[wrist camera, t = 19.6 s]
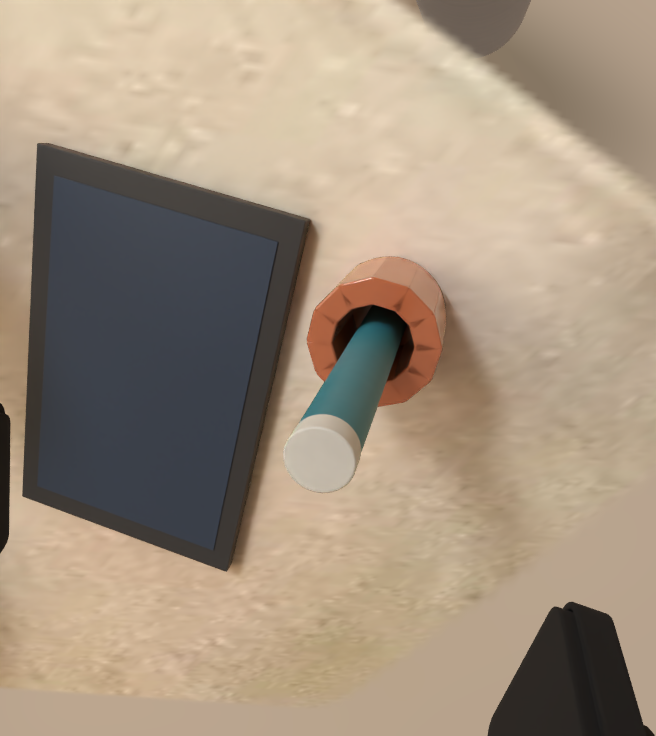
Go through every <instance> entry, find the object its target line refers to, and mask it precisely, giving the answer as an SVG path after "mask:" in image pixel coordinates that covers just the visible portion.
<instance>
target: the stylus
mask: <svg viewBox="0 0 656 736" xmlns="http://www.w3.org/2000/svg"><path fill="white" fill-rule="evenodd" d="M406 325H407V323H406V322H405V321H404V320H403V319H402V318H401V317H400V316H399V315H398V314H397V313H396V312H395V311H392V310H389V309H386V308H383V307H379V306H376V305H373V306H372V307H371V308H370V310H369V311H368V313H367V315H366V316H365V318H364V319H363V321H362V323H361V324H360V326H359V327H358V329H357V331H356V332H355V334H354V335H353V337H352V339H351V340H350V342H349V343H348V345H347V347H346V348H345V350H344V352H343V353H342V355H341V356H340V358H339V360H338V361H337V363H336V364H335V366H334V368H333V369H332V371H331V372H330V374H329V376H328V377H327V379H326V380H325V382H324V384H323V385H322V387H321V388H320V390H319V392H318V393H317V395H316V397H315V398H314V400H313V401H312V403H311V405H310V406H309V408H308V409H307V411H306V413H305V414H304V416H303V417H302V419H301V421H300V422H299V424H298V425H297V426H296V427H295V429H294V430H293V432H292V434H291V435H290V437H289V438H288V440H287V442H286V444H285V447H284V452H283V458H284V463H285V467H286V469H287V471H288V473H289V475H290V476H291V477H292V478H293V480H294V481H295V482H297V483H298V484H299V485H300V486H302V487H304V488H306V489H308V490H310V491H313V492H318V493H330V492H334V491H337V490H339V489H341V488H343V487H345V486H346V485H347V484H348V483H349V482H350V481H351V480H352V478H353V476H354V474H355V471H356V468H357V465H358V463H359V460H360V456H361V452H362V449H363V446H364V443H365V440H366V438H367V435H368V432H369V429H370V426H371V424H372V421H373V418H374V415H375V412H376V410H377V407H378V404H379V401H380V398H381V396H382V393H383V390H384V387H385V384H386V381H387V379H388V376H389V373H390V370H391V367H392V365H393V362H394V359H395V356H396V353H397V351H398V348H399V345H400V342H401V339H402V337H403V334H404V331H405V328H406Z"/></svg>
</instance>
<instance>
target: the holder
mask: <svg viewBox="0 0 656 736" xmlns="http://www.w3.org/2000/svg"><path fill="white" fill-rule="evenodd" d="M373 305H376V306H379V307H383V308H386V309H389V310H392V311H395V312H396V313H397V314H398V315H399V316H400V317H401V318H402V319H403V320H404V321H405V322H406V323H407V325H406V328H405V331H404V334H403V337H402V339H401V342H400V345H399V348H398V351H397V353H396V356H395V359H394V362H393V365H392V367H391V370H390V373H389V376H388V379H387V381H386V384H385V387H384V390H383V393H382V396H381V398H380V401H379V404H378V407H380V406H385V405H391V404H397V403H403V402H405V401H407V400H409V399H410V398H411V397H412V396H414V395H415V394H416V393H417V392H418V391H420V390H421V389H422V388H423V387H425V386H426V385H427V384H428V383H429V382H430V381H431V380H432V378H433V375H434V372H435V369H436V367H437V364H438V361H439V358H440V355H441V352H442V348H443V340H444V333H445V325H446V311H445V303H444V298H443V295H442V292H441V289H440V287H439V286H438V284H437V282H436V281H435V279H434V278H433V277H432V276H431V274H429V273H428V272H427V271H426V270H425V269H424V268H422V267H421V266H420V265H418V264H416V263H414V262H412V261H410V260H407V259H404V258H399V257H379V258H374V259H371V260H368V261H366V262H364V263H360V264H359V265H357V266H356V267H355V268H354V269H353V270H352V271H351V272H350V273H349V274H348V275H347V276H346V277H345V278H344V279H343V280H342V281H341V282H340V283H339V284H338V285H337V286H336V287H335V288H334V289H333V290H332V291H331V292H330V293H329V294H328V295H327V296H326V297H325V298H324V299H323V300H322V301H321V302H320V303H319V305H318V306H317V307H316V308H315V310H314V312H313V316H312V320H311V324H310V328H309V332H308V336H307V345H308V348H309V352H310V355H311V358H312V362H313V365H314V368H315V371H316V372H317V375H318V376H319V377H320V378H321V379H322V380H323V381H324V382H325V380H326V379H327V377H328V376H329V374H330V372H331V371H332V369H333V368H334V366H335V364H336V363H337V361H338V360H339V358H340V356H341V355H342V353H343V352H344V350H345V348H346V347H347V345H348V343H349V342H350V340H351V339H352V337H353V335H354V334H355V332H356V331H357V329H358V327H359V326H360V324H361V323H362V321H363V319H364V318H365V316H366V315H367V313H368V311H369V310H370V308H371V307H372V306H373Z"/></svg>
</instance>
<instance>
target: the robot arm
mask: <svg viewBox="0 0 656 736" xmlns="http://www.w3.org/2000/svg"><path fill="white" fill-rule="evenodd" d="M9 493H10V418H9V416H8V415H6V414H5V411H4V407H3V406H2V404H0V553H1V551H2V550H3V549H4V547H5V545H6V543H7V540H8V537H9ZM488 736H654V734H653V733H652V731H651V730H650V729H649V728H648V727H647V726H645V725H643V722H642V718H641V715H640V711H639V708H638V705H637V701H636V698H635V694H634V691H633V687H632V684H631V681H630V677H629V674H628V670H627V667H626V663H625V660H624V657H623V653H622V650H621V647H620V643H619V640H618V636H617V633H616V629H615V626H614V623H613V620H612V618H611V617H610V616H609V615H608V614H606V613H603V612H600V611H597V610H594V609H591V608H589V607H586V606H583V605H580V604H577V603H574V602H569V603H567V604H566V605H565V606H564V608H563V609H562V608H559V607H553V608H552V609H551V610H550V612H549V614H548V615H547V617H546V619H545V621H544V623H543V624H542V626H541V628H540V630H539V632H538V634H537V636H536V637H535V639H534V641H533V643H532V645H531V647H530V648H529V650H528V652H527V654H526V656H525V658H524V659H523V661H522V663H521V665H520V667H519V669H518V670H517V672H516V674H515V676H514V678H513V680H512V682H511V684H510V685H509V687H508V689H507V691H506V693H505V694H504V696H503V698H502V700H501V702H500V704H499V705H498V707H497V709H496V711H495V713H494V715H493V717H492V719H491V722H490V725H489V730H488Z"/></svg>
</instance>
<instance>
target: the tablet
mask: <svg viewBox="0 0 656 736" xmlns="http://www.w3.org/2000/svg"><path fill="white" fill-rule="evenodd" d="M309 222H310V219H308V218H304V217H301V216H297V215H294V214H291V213H287V212H284V211H280V210H277V209H273V208H270V207H266V206H263V205H260V204H256V203H253V202H249V201H246V200H242V199H239V198H235V197H232V196H228V195H225V194H222V193H218V192H215V191H211V190H208V189H204V188H201V187H197V186H194V185H191V184H187V183H184V182H180V181H177V180H173V179H170V178H166V177H163V176H159V175H156V174H153V173H149V172H146V171H142V170H139V169H135V168H132V167H128V166H125V165H122V164H118V163H115V162H111V161H108V160H104V159H101V158H97V157H94V156H91V155H87V154H84V153H80V152H77V151H73V150H70V149H66V148H63V147H59V146H56V145H53V144H49V143H38V144H37V163H36V187H35V210H34V234H33V258H32V281H31V305H30V328H29V352H28V376H27V399H26V423H25V446H24V470H23V494H22V496H23V497H26V498H29V499H31V500H34V501H37V502H39V503H42V504H45V505H47V506H50V507H53V508H56V509H58V510H61V511H64V512H66V513H69V514H72V515H74V516H77V517H80V518H83V519H85V520H88V521H91V522H93V523H96V524H99V525H101V526H104V527H107V528H110V529H112V530H115V531H118V532H120V533H123V534H126V535H129V536H131V537H134V538H137V539H139V540H142V541H145V542H147V543H150V544H153V545H156V546H158V547H161V548H164V549H166V550H169V551H172V552H174V553H177V554H180V555H183V556H185V557H188V558H191V559H193V560H196V561H199V562H201V563H204V564H207V565H210V566H212V567H215V568H218V569H220V570H223V571H226V572H227V570H228V569H229V567H230V565H231V563H232V560H233V555H234V551H235V547H236V542H237V538H238V534H239V529H240V525H241V520H242V516H243V512H244V507H245V503H246V498H247V494H248V490H249V485H250V481H251V476H252V472H253V468H254V463H255V459H256V455H257V450H258V446H259V441H260V437H261V433H262V428H263V424H264V419H265V415H266V411H267V406H268V402H269V398H270V393H271V389H272V384H273V380H274V376H275V371H276V367H277V362H278V358H279V354H280V349H281V345H282V340H283V336H284V332H285V327H286V323H287V319H288V314H289V310H290V305H291V301H292V297H293V292H294V288H295V283H296V279H297V275H298V270H299V266H300V262H301V257H302V253H303V248H304V244H305V240H306V235H307V231H308V226H309Z"/></svg>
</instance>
